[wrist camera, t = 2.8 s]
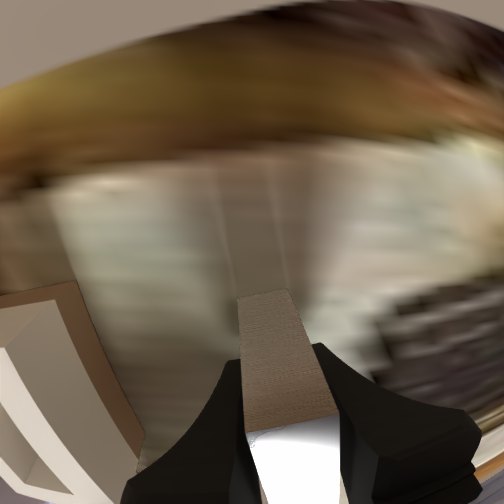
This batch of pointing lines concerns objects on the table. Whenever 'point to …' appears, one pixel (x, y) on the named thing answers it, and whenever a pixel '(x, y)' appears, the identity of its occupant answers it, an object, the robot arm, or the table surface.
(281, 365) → the white upright block
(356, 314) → the table surface
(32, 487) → the slotted upright plate
